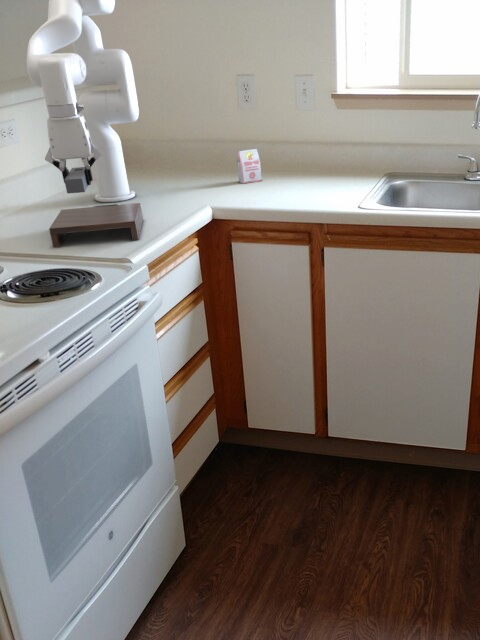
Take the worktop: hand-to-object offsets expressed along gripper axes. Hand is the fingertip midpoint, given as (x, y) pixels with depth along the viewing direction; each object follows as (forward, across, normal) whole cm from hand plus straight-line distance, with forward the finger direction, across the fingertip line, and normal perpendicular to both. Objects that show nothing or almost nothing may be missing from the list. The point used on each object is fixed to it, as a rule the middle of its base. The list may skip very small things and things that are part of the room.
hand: (79, 184), depth 201 cm
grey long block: (+1, 0, 0) cm, 1 cm away
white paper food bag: (+14, -47, -49) cm, 70 cm away
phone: (+14, -2, -19) cm, 24 cm away
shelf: (+13, -3, +1) cm, 14 cm away
